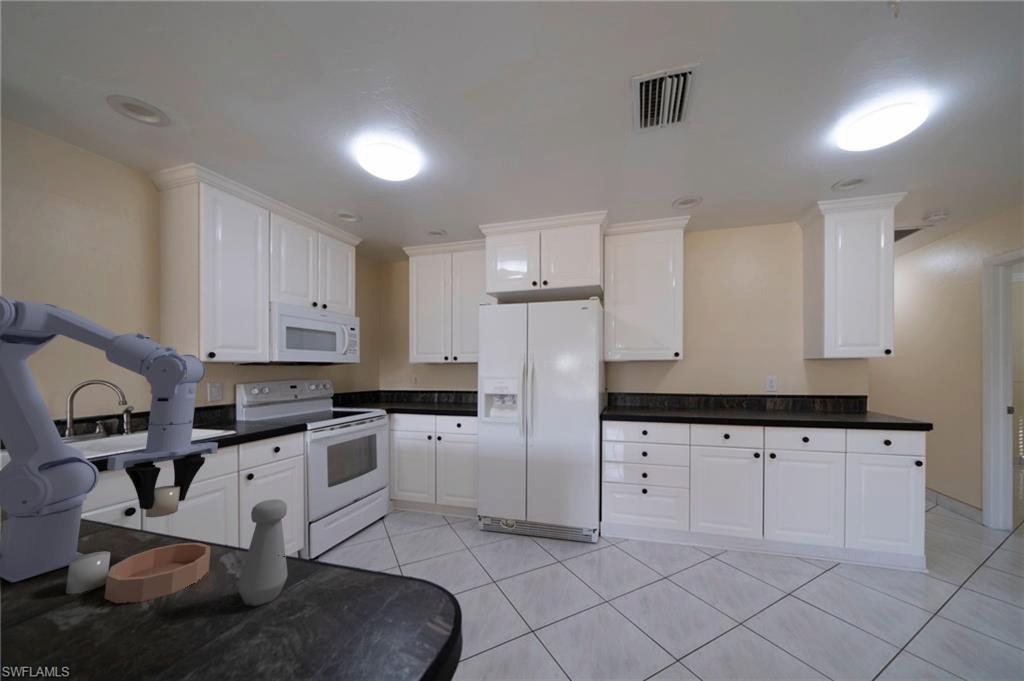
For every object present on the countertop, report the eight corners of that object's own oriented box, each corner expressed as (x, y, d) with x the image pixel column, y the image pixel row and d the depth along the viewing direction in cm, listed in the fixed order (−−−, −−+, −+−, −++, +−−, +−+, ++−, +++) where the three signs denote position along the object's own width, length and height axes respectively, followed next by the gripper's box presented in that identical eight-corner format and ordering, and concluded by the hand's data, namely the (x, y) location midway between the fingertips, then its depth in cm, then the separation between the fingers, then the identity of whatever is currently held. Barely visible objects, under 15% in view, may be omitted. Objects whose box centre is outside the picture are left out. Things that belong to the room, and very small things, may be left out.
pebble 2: (140, 515, 62) (142, 490, 62) (169, 507, 66) (171, 484, 66) (154, 518, 61) (156, 493, 61) (183, 510, 64) (185, 487, 65)
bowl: (89, 591, 53) (91, 569, 53) (181, 556, 63) (183, 538, 64) (133, 610, 49) (136, 586, 49) (224, 570, 59) (226, 550, 60)
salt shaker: (261, 613, 49) (269, 511, 50) (225, 606, 50) (234, 507, 51) (295, 588, 55) (302, 497, 56) (262, 583, 56) (269, 494, 57)
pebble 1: (59, 590, 53) (63, 561, 53) (98, 576, 57) (102, 549, 57) (73, 597, 52) (77, 566, 52) (112, 582, 55) (116, 554, 56)
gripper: (129, 429, 56) (118, 522, 55) (230, 420, 70) (224, 494, 69) (104, 426, 59) (93, 515, 58) (206, 418, 72) (199, 490, 71)
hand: (162, 504), depth 63 cm, fingers closed on pebble 2, 4 cm apart
